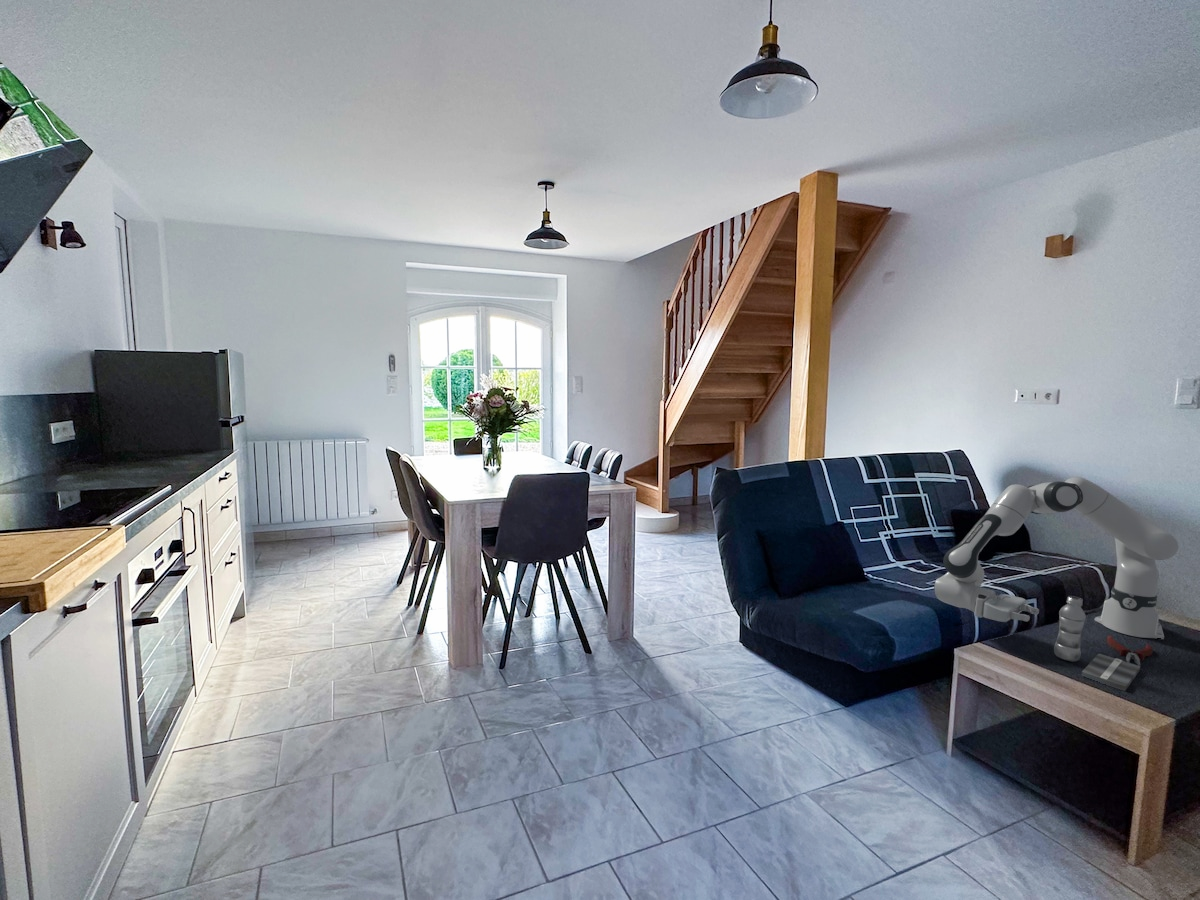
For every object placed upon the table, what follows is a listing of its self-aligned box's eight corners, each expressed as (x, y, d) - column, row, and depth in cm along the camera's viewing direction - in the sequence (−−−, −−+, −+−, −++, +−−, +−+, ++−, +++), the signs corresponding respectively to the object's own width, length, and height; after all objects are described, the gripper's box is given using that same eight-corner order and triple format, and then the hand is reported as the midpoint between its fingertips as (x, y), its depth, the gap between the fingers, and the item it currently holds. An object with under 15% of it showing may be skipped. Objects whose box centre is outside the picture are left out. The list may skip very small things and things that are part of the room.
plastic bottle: (1072, 665, 184) (1082, 603, 181) (1048, 656, 190) (1057, 595, 187) (1083, 661, 187) (1093, 600, 184) (1059, 652, 193) (1068, 592, 190)
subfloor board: (1097, 657, 190) (1098, 652, 190) (1139, 670, 183) (1140, 665, 182) (1081, 676, 178) (1081, 671, 177) (1125, 691, 170) (1126, 685, 170)
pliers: (1109, 661, 189) (1110, 654, 188) (1105, 640, 205) (1107, 633, 204) (1158, 674, 182) (1159, 666, 181) (1150, 651, 198) (1152, 644, 197)
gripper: (995, 604, 212) (1042, 617, 201) (973, 617, 199) (1022, 632, 188) (997, 586, 211) (1044, 599, 200) (975, 599, 198) (1024, 613, 187)
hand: (1033, 615), depth 194 cm, fingers open, 8 cm apart
